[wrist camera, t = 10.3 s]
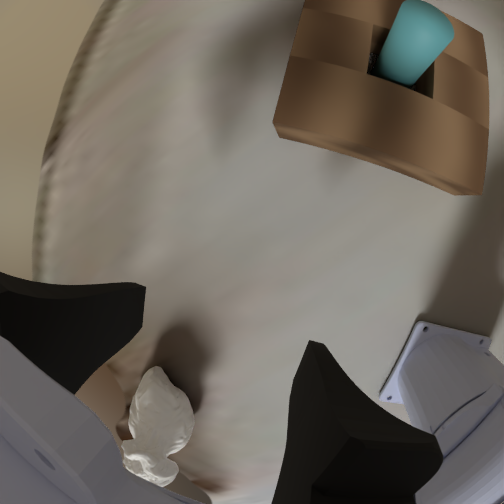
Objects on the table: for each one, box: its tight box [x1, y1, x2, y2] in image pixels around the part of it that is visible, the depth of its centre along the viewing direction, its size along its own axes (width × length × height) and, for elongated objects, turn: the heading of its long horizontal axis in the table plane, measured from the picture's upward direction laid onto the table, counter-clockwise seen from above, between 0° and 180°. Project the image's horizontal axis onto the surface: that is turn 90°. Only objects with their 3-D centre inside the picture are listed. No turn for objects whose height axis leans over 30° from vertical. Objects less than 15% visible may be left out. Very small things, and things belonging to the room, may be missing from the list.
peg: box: [371, 0, 454, 89], centre depth 12 cm, size 3×3×9 cm
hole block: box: [273, 0, 489, 195], centre depth 14 cm, size 14×14×4 cm
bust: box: [121, 366, 195, 487], centre depth 20 cm, size 12×8×11 cm
